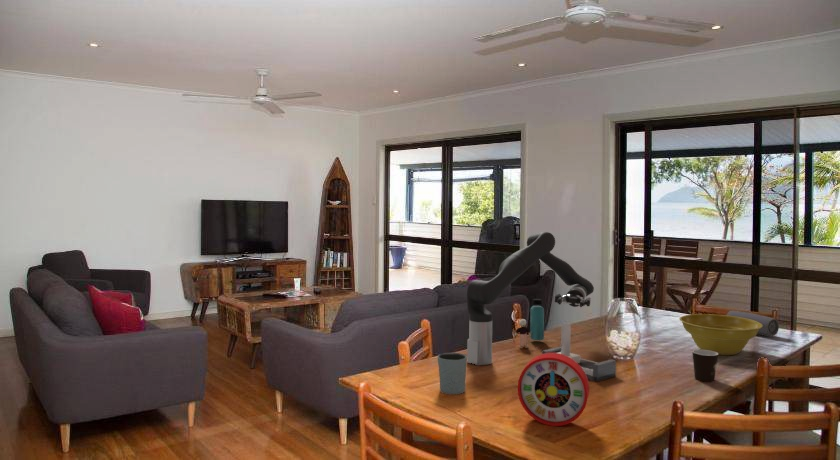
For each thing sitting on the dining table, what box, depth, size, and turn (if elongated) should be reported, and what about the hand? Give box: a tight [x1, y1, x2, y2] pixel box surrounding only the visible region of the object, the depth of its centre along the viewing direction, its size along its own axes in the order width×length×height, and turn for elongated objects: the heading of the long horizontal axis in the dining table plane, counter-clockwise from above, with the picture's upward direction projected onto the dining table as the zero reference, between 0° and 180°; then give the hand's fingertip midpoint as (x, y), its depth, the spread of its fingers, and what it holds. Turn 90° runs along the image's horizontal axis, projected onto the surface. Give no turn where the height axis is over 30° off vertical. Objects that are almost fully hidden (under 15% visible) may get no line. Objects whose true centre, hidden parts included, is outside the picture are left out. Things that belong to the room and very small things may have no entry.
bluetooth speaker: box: [726, 310, 780, 336], centre depth 291 cm, size 23×9×10 cm, turn 25°
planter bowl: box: [679, 313, 763, 356], centre depth 255 cm, size 32×32×13 cm
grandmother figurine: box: [513, 318, 531, 349], centre depth 261 cm, size 8×4×13 cm, turn 108°
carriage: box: [558, 323, 581, 363], centre depth 230 cm, size 8×8×15 cm
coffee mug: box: [691, 349, 719, 383], centre depth 215 cm, size 12×9×10 cm
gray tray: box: [541, 346, 617, 382], centre depth 225 cm, size 11×26×6 cm, turn 37°
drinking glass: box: [437, 352, 468, 395], centre depth 201 cm, size 10×10×12 cm
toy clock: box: [517, 353, 590, 427], centre depth 172 cm, size 20×6×20 cm, turn 69°
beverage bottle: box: [529, 298, 545, 341], centre depth 272 cm, size 6×7×20 cm
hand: (570, 303), depth 239 cm, fingers open, 8 cm apart
